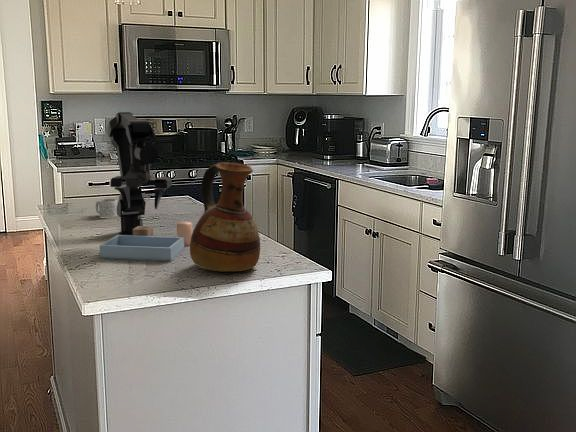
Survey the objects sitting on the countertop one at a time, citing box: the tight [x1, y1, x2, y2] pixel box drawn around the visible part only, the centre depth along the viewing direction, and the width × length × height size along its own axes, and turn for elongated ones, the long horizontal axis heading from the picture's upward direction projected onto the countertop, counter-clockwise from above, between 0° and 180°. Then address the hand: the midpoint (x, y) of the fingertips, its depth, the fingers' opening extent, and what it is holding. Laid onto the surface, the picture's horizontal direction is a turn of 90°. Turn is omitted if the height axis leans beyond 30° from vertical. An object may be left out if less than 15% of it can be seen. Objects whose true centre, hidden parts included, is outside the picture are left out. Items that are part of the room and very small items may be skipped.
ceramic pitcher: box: [189, 161, 261, 273], centre depth 176 cm, size 20×20×30 cm
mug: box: [95, 198, 118, 218], centre depth 247 cm, size 10×7×7 cm
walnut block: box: [132, 225, 154, 236], centre depth 207 cm, size 5×5×5 cm
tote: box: [99, 234, 185, 262], centre depth 193 cm, size 22×14×4 cm, turn 83°
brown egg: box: [176, 220, 194, 247], centre depth 205 cm, size 5×5×7 cm
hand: (142, 208), depth 205 cm, fingers open, 9 cm apart
